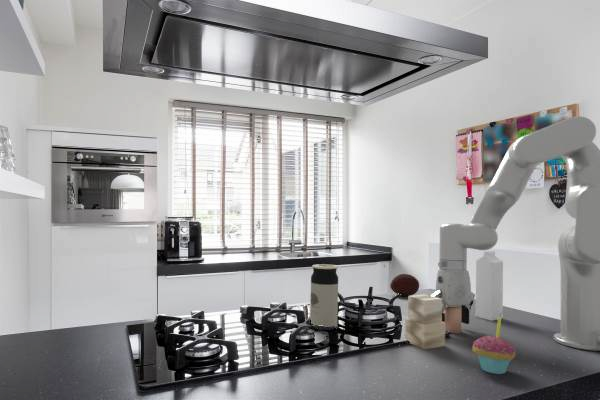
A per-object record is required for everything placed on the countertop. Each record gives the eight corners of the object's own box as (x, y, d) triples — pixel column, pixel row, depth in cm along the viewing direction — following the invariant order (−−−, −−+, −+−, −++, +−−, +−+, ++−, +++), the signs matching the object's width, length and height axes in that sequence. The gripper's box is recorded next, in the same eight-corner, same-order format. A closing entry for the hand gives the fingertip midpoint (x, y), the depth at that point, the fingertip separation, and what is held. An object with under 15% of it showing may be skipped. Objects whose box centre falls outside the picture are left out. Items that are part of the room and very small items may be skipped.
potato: (422, 298, 163) (422, 275, 163) (392, 298, 163) (393, 275, 163) (415, 294, 172) (415, 272, 172) (387, 293, 171) (387, 271, 172)
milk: (475, 316, 135) (475, 250, 136) (486, 314, 138) (486, 250, 139) (492, 321, 130) (492, 252, 131) (503, 318, 133) (503, 251, 134)
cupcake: (489, 360, 93) (490, 308, 94) (524, 374, 86) (525, 317, 86) (463, 366, 89) (464, 311, 90) (498, 380, 82) (498, 321, 82)
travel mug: (331, 323, 122) (332, 263, 123) (341, 331, 115) (342, 267, 115) (306, 324, 120) (307, 264, 121) (314, 332, 112) (316, 267, 113)
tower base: (444, 346, 104) (445, 322, 104) (424, 349, 100) (424, 325, 101) (425, 338, 110) (425, 316, 110) (405, 341, 107) (405, 318, 107)
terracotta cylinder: (465, 332, 116) (465, 307, 117) (452, 334, 114) (452, 309, 114) (451, 327, 121) (452, 304, 121) (439, 329, 119) (439, 305, 119)
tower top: (441, 322, 104) (442, 298, 104) (424, 324, 101) (424, 300, 102) (425, 316, 109) (425, 294, 110) (407, 318, 107) (408, 295, 107)
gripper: (440, 268, 111) (439, 331, 110) (484, 266, 119) (483, 325, 118) (421, 264, 118) (420, 324, 117) (463, 263, 125) (463, 318, 125)
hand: (452, 324), depth 118 cm, fingers open, 9 cm apart
